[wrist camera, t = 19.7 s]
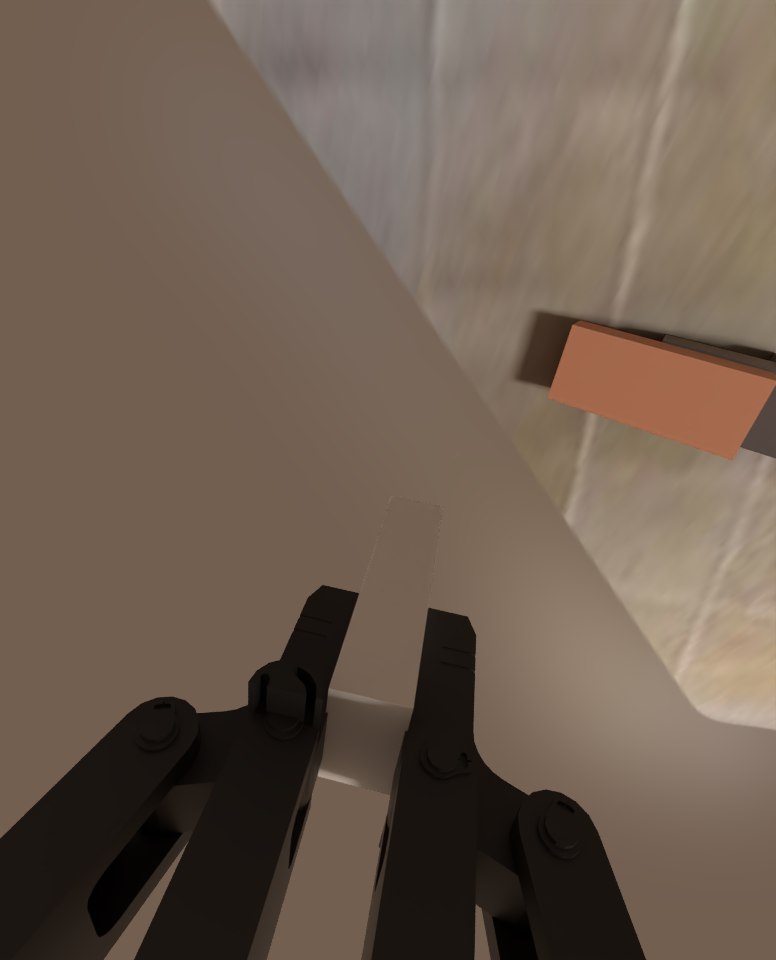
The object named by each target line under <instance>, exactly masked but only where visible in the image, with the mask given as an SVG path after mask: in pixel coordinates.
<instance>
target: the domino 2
mask: <svg viewBox="0 0 776 960" xmlns="http://www.w3.org/2000/svg"><path fill="white" fill-rule="evenodd" d="M662 342H663V343H667V344H670V345H674V346H678V347H682V348H685V349H689V350H693V351H696V352H700V353H704V354H707V355H711V356H715V357H719V358H722V359H726V360H730V361H733V362H737V363H741V364H744V365H748V366H752V367H755V368H759V369H763V370H767V371H770V372H774V373H775V375H776V362H772V361H768V360H764V359H761V358H757V357H753V356H749V355H745V354H741V353H737V352H733V351H729V350H725V349H722V348H718V347H714V346H710V345H706V344H702V343H698V342H694V341H690V340H686V339H682V338H679V337H675V336H671V335H667V334H666V335H665V337H664V338H663V340H662ZM740 447H742V448H745V449H748V450H751V451H754V452H758V453H761V454H764V455H767V456H770V457H773V458H776V385H775V387H774V389H773V390H772V392H771V394H770V396H769V397H768V399H767V401H766V403H765V404H764V406H763V408H762V410H761V411H760V413H759V415H758V416H757V418H756V420H755V422H754V423H753V425H752V427H751V429H750V430H749V432H748V434H747V435H746V437H745V439H744V441H743V442H742V444H741V446H740Z"/></svg>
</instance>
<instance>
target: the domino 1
mask: <svg viewBox="0 0 776 960" xmlns="http://www.w3.org/2000/svg"><path fill="white" fill-rule="evenodd" d="M775 385H776V375H775V373H774V372H770V371H767V370H763V369H759V368H755V367H752V366H748V365H744V364H741V363H737V362H733V361H730V360H726V359H722V358H719V357H715V356H711V355H707V354H704V353H700V352H696V351H693V350H689V349H685V348H682V347H678V346H674V345H670V344H667V343H663V342H659V341H656V340H652V339H648V338H645V337H641V336H637V335H634V334H630V333H626V332H622V331H619V330H615V329H611V328H608V327H604V326H600V325H597V324H593V323H589V322H585V321H582V320H580V321H578V322H576V323H575V324H573V325H572V328H571V331H570V333H569V336H568V339H567V342H566V345H565V348H564V351H563V354H562V357H561V360H560V363H559V366H558V369H557V371H556V374H555V377H554V380H553V383H552V386H551V389H550V392H549V395H548V398H549V399H552V400H555V401H558V402H561V403H564V404H567V405H570V406H573V407H576V408H579V409H582V410H585V411H588V412H591V413H594V414H597V415H600V416H603V417H606V418H609V419H612V420H615V421H618V422H621V423H624V424H627V425H630V426H633V427H636V428H638V429H641V430H644V431H647V432H650V433H653V434H656V435H659V436H662V437H665V438H668V439H671V440H674V441H677V442H680V443H683V444H686V445H689V446H692V447H695V448H698V449H701V450H704V451H707V452H710V453H713V454H716V455H719V456H722V457H725V458H728V459H731V460H733V458H734V456H735V455H736V453H737V451H738V449H739V448H740V446H741V444H742V442H743V441H744V439H745V437H746V435H747V434H748V432H749V430H750V429H751V427H752V425H753V423H754V422H755V420H756V418H757V416H758V415H759V413H760V411H761V410H762V408H763V406H764V404H765V403H766V401H767V399H768V397H769V396H770V394H771V392H772V390H773V389H774V387H775Z"/></svg>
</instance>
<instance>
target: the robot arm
mask: <svg viewBox="0 0 776 960" xmlns="http://www.w3.org/2000/svg"><path fill="white" fill-rule="evenodd" d="M442 510H443V506H437V505H433V504H428V503H424V502H419V501H414V500H410V499H405V498H400V497H395V496H391V497H390V501H389V504H388V507H387V510H386V513H385V516H384V519H383V522H382V525H381V528H380V531H379V534H378V538H377V541H376V544H375V547H374V550H373V553H372V556H371V559H370V562H369V565H368V568H367V571H366V575H365V578H364V581H363V584H362V587H361V590H360V593H355V592H351V591H347V590H342V589H338V588H333V587H329V586H324V585H322V586H321V587H320V588H319V589H318V590H316V591H315V592H314V593H313V594H312V595H311V596H309V597H308V599H307V601H306V604H305V605H304V608H303V610H302V612H301V614H300V618H299V619H298V621H297V623H296V626H295V628H294V631H293V633H292V635H291V637H290V639H289V641H288V644H287V646H286V648H285V650H284V653H283V655H282V657H281V659H280V660H279V661H275V662H271V663H268V664H267V665H265V666H263V667H262V668H260V669H259V670H257V671H256V672H255V674H254V675H253V676H252V678H251V679H250V680H249V682H248V686H249V687H248V697H249V698H248V699H249V700H248V705H247V706H244V707H242V708H239V709H236V710H231V711H224V712H209V713H196V710H195V708H194V707H192V706H191V705H190V704H189V703H188V702H186V701H185V700H182V699H178V698H175V697H160V698H155V699H153V700H150V701H147V702H144V703H142V704H140V705H139V706H138V707H136V708H135V709H133V710H132V711H131V712H129V713H128V714H127V715H126V716H125V717H124V718H123V719H122V720H121V721H120V722H119V723H118V724H117V725H116V726H115V727H114V728H113V729H112V730H111V731H110V732H109V733H108V734H107V735H106V736H105V737H104V738H103V739H101V740H100V741H99V742H98V743H97V744H96V745H95V747H93V748H92V749H91V750H90V752H88V753H87V754H86V755H85V756H84V757H83V758H82V759H81V760H80V761H79V762H78V763H77V764H76V765H75V766H74V767H73V768H72V769H71V770H70V771H69V772H68V773H67V774H66V775H65V776H64V777H63V778H62V779H61V780H60V781H59V782H58V783H57V784H56V785H55V786H54V787H52V788H51V790H49V792H47V793H46V795H44V796H43V797H42V798H41V799H40V800H39V801H38V802H37V803H36V804H35V805H34V806H33V807H32V808H31V809H30V810H29V811H28V812H27V813H26V814H25V815H24V816H23V817H22V818H21V819H20V820H19V821H18V822H17V823H16V824H15V825H14V826H13V827H12V828H11V829H10V830H9V831H8V832H7V833H6V834H5V835H3V836H2V837H1V838H0V960H104V958H105V957H106V955H107V954H108V952H109V951H110V950H111V948H112V947H113V945H114V944H115V943H116V941H117V940H118V939H119V937H120V936H121V934H122V933H123V932H124V930H125V929H126V927H127V926H128V925H129V923H130V922H131V920H132V919H133V918H134V916H135V915H136V913H137V912H138V911H139V909H140V908H141V906H142V905H143V904H144V902H145V901H146V899H147V898H148V897H149V895H150V894H151V892H152V891H153V890H154V888H155V887H156V886H157V884H158V883H159V881H160V880H161V879H162V877H163V876H164V874H165V873H166V872H167V870H168V869H169V867H170V866H171V865H172V863H173V862H174V860H175V859H176V857H177V856H178V854H179V853H180V852H181V851H182V849H183V848H184V846H185V845H186V844H187V842H188V841H189V842H188V844H187V846H186V848H185V851H184V853H183V855H182V857H181V859H180V861H179V863H178V866H177V868H176V870H175V872H174V874H173V877H172V879H171V881H170V883H169V885H168V887H167V890H166V892H165V894H164V896H163V898H162V900H161V903H160V905H159V907H158V909H157V911H156V913H155V916H154V918H153V920H152V922H151V924H150V926H149V929H148V931H147V933H146V935H145V937H144V939H143V942H142V944H141V946H140V948H139V950H138V952H137V955H136V957H135V959H134V960H267V956H268V953H269V949H270V946H271V942H272V939H273V935H274V932H275V928H276V925H277V921H278V918H279V914H280V911H281V908H282V904H283V900H284V897H285V893H286V890H287V887H288V883H289V880H290V876H291V873H292V869H293V866H294V863H295V859H296V856H297V852H298V849H299V845H300V842H301V838H302V835H303V831H304V827H305V824H306V821H307V817H308V814H309V810H310V806H311V796H312V792H313V788H314V785H315V781H316V778H317V775H318V776H319V777H323V778H327V779H330V780H335V781H339V782H342V783H346V784H350V785H354V786H358V787H361V788H365V789H369V790H373V791H377V792H381V793H385V794H388V795H390V801H389V807H388V813H387V817H386V821H385V825H384V828H383V833H382V836H381V840H380V843H379V847H380V853H379V859H378V864H377V870H376V876H375V882H374V888H373V894H372V900H371V906H370V912H369V919H368V924H367V930H366V936H365V941H364V948H363V953H362V959H361V960H474V952H475V951H474V950H475V905H476V904H477V905H478V906H479V907H481V908H482V912H483V918H484V924H485V929H486V935H487V940H488V946H489V952H490V957H491V960H646V959H645V956H644V953H643V950H642V948H641V945H640V942H639V940H638V937H637V934H636V932H635V929H634V926H633V924H632V921H631V918H630V916H629V913H628V911H627V908H626V905H625V903H624V900H623V897H622V894H621V892H620V889H619V886H618V884H617V881H616V879H615V876H614V873H613V871H612V868H611V865H610V863H609V860H608V858H607V855H606V852H605V850H604V847H603V844H602V841H601V839H600V836H599V834H598V831H597V829H596V827H595V826H594V824H593V822H592V820H591V819H590V816H589V815H588V814H587V813H586V812H585V811H584V810H583V809H582V808H581V807H580V806H579V804H578V803H577V802H576V801H574V800H572V799H570V798H569V797H567V796H565V795H564V794H562V793H559V792H555V791H550V790H542V791H537V792H533V793H531V794H530V795H527V794H525V793H524V792H522V791H521V790H519V789H517V788H515V787H514V786H512V785H511V784H509V783H507V782H506V781H504V780H503V779H501V778H500V777H499V776H497V775H496V774H495V773H493V772H492V771H491V770H490V768H489V767H488V766H487V765H486V764H485V763H484V761H483V760H482V758H481V757H480V755H479V753H478V751H477V748H476V745H475V743H474V734H473V721H474V719H473V718H474V688H475V687H474V686H475V653H476V634H475V632H474V630H473V627H472V625H471V623H470V621H469V619H468V617H467V616H462V615H458V614H454V613H449V612H445V611H440V610H436V609H432V608H428V605H429V599H430V592H431V585H432V578H433V572H434V565H435V558H436V551H437V544H438V538H439V531H440V524H441V517H442ZM189 839H190V840H189Z"/></svg>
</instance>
